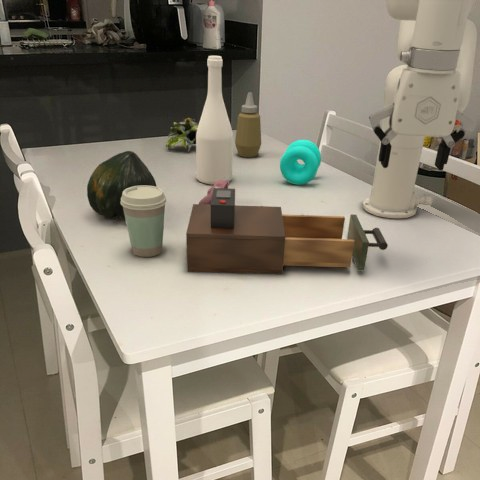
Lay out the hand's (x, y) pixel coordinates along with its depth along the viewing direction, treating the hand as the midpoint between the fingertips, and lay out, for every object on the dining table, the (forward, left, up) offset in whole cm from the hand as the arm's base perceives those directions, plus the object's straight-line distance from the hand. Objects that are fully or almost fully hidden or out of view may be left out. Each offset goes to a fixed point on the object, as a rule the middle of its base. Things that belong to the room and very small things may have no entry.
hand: (411, 166), depth 95 cm
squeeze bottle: (+28, -71, -19) cm, 79 cm away
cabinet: (+31, 0, -19) cm, 36 cm away
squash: (+56, -20, -19) cm, 63 cm away
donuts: (+14, -48, -19) cm, 53 cm away
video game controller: (+36, -28, -19) cm, 49 cm away
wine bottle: (+37, -46, -19) cm, 62 cm away
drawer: (+13, 0, -18) cm, 22 cm away
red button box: (+33, 0, -11) cm, 35 cm away
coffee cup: (+48, -1, -19) cm, 52 cm away
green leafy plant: (+47, -75, -19) cm, 91 cm away
